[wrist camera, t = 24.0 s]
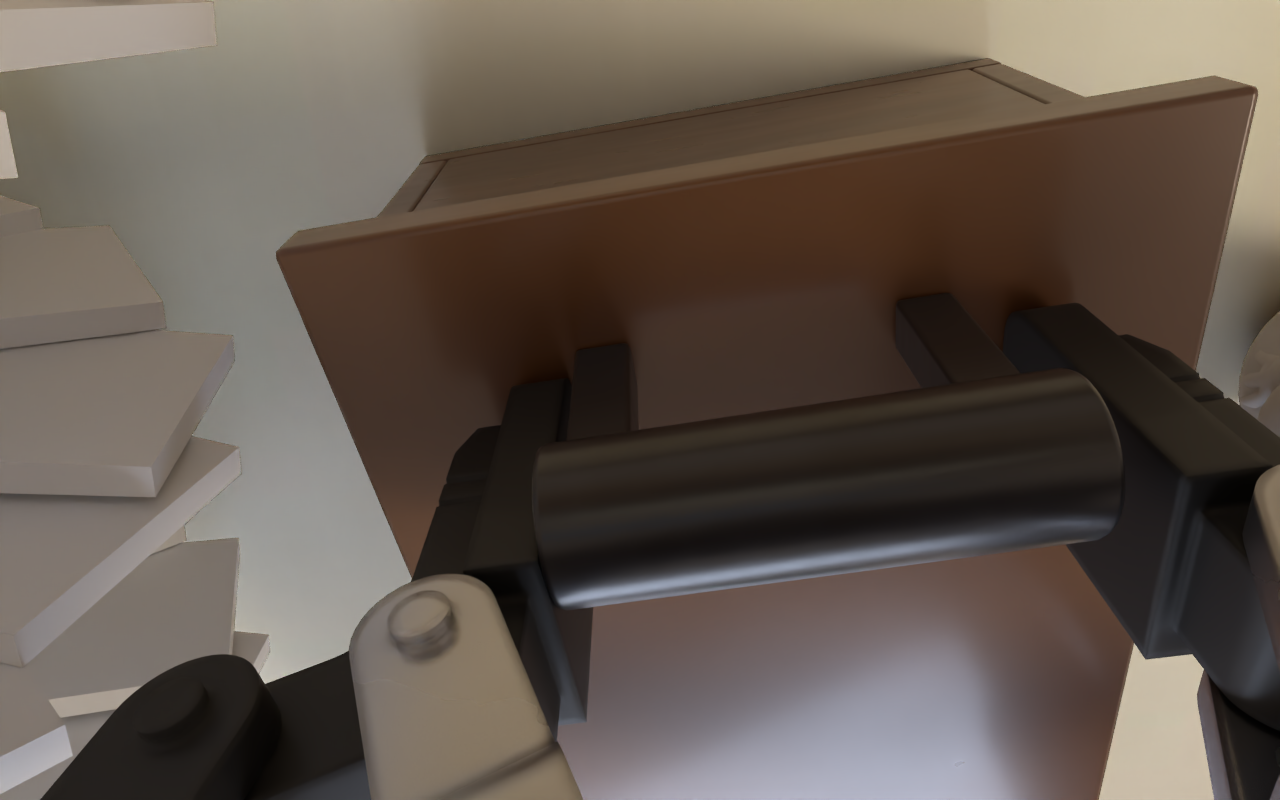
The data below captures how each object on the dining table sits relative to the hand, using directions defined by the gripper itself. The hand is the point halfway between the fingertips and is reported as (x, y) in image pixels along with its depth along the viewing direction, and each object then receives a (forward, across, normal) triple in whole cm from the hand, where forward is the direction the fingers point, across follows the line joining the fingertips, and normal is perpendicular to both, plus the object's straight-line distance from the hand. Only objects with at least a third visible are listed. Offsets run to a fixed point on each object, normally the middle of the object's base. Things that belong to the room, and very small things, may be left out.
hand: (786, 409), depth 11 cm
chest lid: (+1, 0, +6) cm, 6 cm away
